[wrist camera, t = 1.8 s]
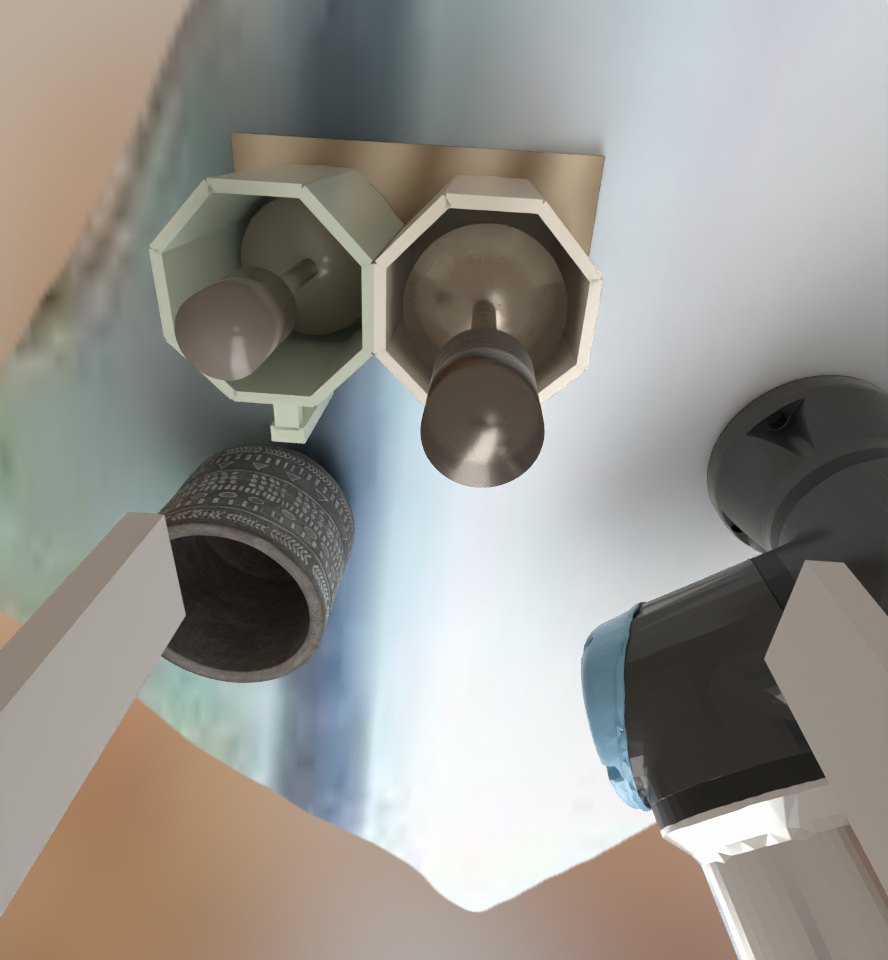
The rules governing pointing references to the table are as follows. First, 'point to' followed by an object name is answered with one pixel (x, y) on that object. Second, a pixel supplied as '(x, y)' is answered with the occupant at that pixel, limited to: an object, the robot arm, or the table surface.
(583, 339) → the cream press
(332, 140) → the board
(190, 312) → the sage press
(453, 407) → the press plunger
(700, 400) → the table surface
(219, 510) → the planter
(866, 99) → the table surface
